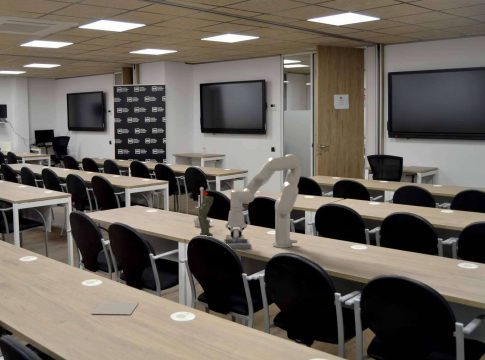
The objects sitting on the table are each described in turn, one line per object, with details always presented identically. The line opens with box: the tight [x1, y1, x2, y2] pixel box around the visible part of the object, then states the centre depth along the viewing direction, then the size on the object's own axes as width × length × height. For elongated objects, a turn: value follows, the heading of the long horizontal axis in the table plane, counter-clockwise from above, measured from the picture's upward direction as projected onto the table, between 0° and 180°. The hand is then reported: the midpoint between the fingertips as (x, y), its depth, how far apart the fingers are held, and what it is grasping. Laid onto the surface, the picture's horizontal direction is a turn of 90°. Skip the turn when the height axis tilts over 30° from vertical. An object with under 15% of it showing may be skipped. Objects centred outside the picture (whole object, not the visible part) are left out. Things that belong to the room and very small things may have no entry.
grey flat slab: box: [91, 301, 139, 315], centre depth 222 cm, size 23×25×1 cm
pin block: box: [225, 234, 246, 239], centre depth 355 cm, size 12×12×2 cm
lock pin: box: [233, 228, 240, 242], centre depth 337 cm, size 4×4×8 cm
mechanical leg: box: [197, 195, 214, 237], centre depth 363 cm, size 14×7×30 cm, turn 143°
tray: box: [223, 238, 251, 250], centre depth 338 cm, size 16×16×3 cm
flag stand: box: [193, 186, 211, 228], centre depth 402 cm, size 13×13×30 cm
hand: (236, 237), depth 337 cm, fingers closed on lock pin, 4 cm apart
